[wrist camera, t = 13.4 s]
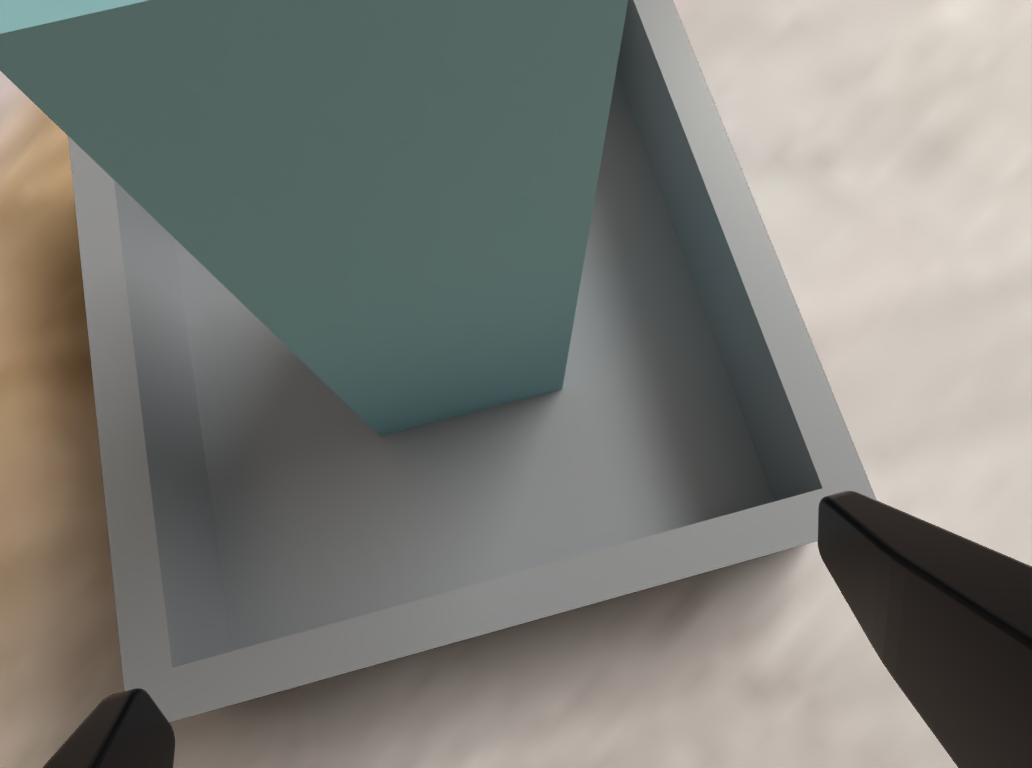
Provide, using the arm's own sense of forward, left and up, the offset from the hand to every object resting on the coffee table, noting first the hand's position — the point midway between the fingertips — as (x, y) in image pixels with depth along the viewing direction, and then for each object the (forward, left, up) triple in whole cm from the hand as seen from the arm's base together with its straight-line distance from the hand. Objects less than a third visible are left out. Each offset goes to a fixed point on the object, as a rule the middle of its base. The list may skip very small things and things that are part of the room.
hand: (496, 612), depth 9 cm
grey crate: (-1, +7, -9) cm, 12 cm away
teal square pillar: (-1, +7, -8) cm, 11 cm away
